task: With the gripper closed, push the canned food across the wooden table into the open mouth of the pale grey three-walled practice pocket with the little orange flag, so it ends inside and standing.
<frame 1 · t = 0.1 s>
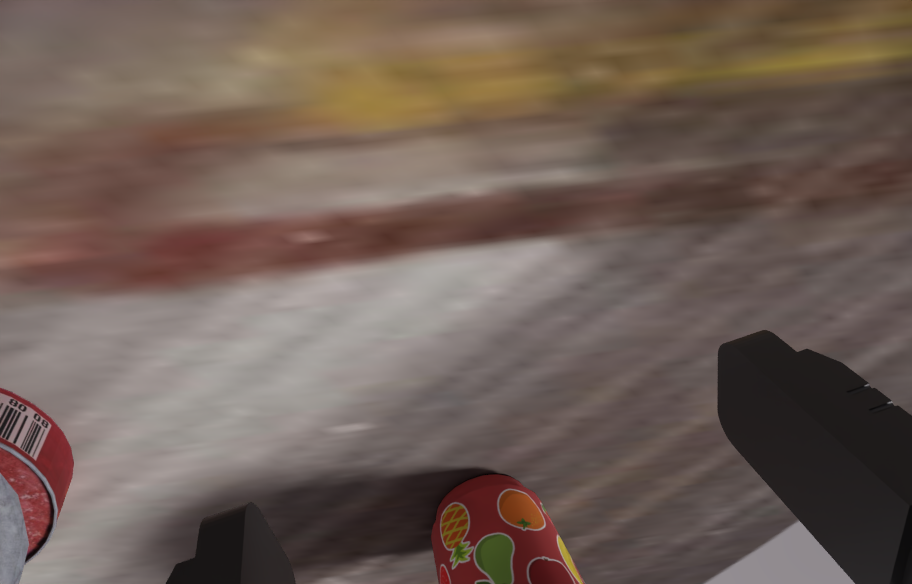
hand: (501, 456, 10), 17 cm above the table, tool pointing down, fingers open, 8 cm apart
smoothie: (480, 503, 38), on the table
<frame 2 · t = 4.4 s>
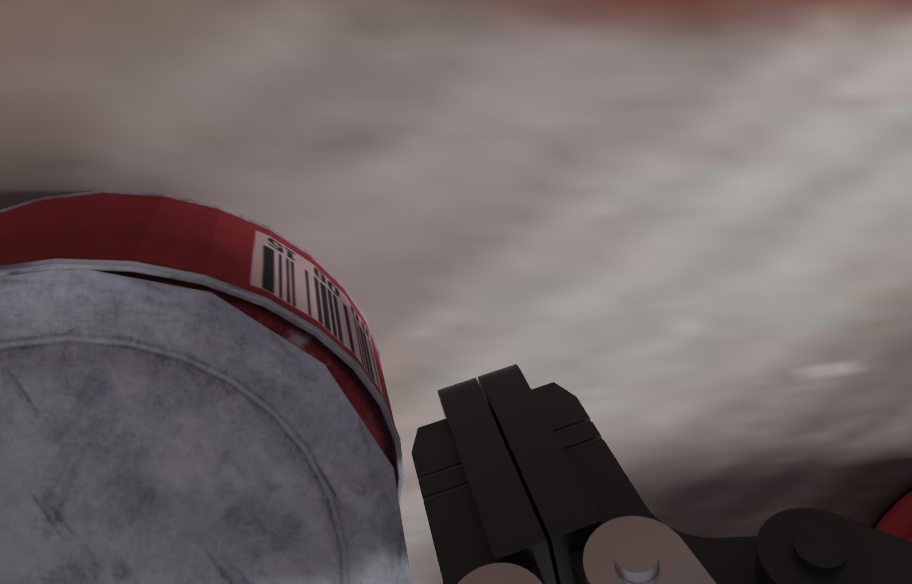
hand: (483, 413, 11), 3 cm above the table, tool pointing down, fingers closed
canned food: (152, 401, 14), on the table, touching gripper
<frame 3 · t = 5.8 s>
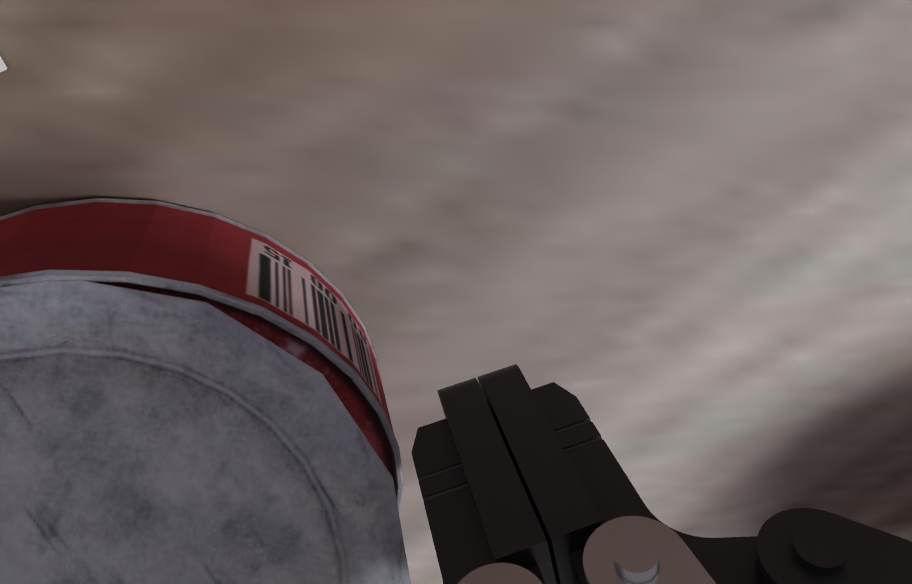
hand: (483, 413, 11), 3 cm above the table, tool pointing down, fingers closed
canned food: (148, 410, 13), on the table, touching gripper
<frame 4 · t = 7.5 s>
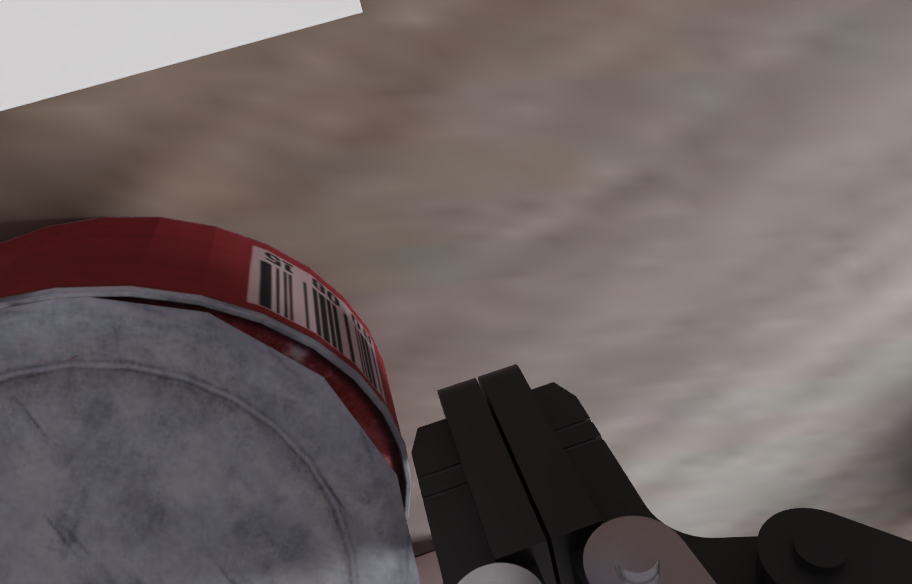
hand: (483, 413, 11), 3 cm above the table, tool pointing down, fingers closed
canned food: (164, 416, 14), on the table, touching gripper
practice pocket: (126, 433, 13), on the table
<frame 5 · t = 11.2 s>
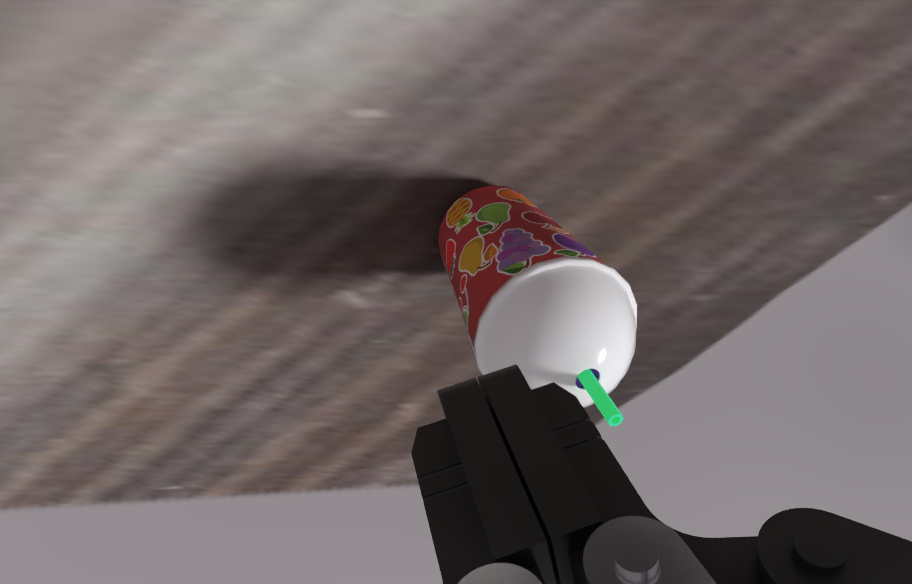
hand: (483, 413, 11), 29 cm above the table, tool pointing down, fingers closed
smoothie: (482, 225, 42), on the table
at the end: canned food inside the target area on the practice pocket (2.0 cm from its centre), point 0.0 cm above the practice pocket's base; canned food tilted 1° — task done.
